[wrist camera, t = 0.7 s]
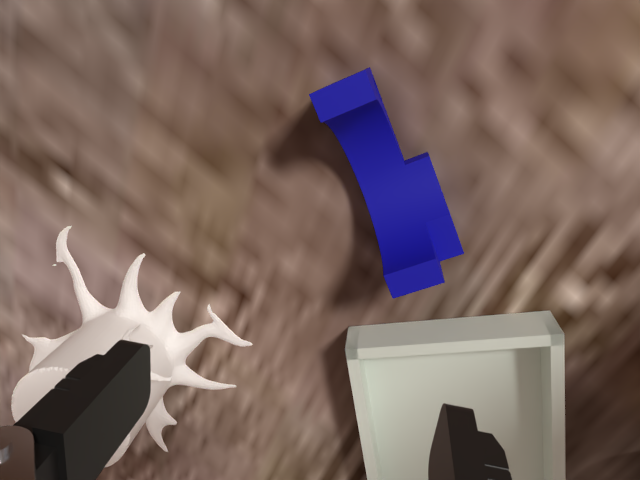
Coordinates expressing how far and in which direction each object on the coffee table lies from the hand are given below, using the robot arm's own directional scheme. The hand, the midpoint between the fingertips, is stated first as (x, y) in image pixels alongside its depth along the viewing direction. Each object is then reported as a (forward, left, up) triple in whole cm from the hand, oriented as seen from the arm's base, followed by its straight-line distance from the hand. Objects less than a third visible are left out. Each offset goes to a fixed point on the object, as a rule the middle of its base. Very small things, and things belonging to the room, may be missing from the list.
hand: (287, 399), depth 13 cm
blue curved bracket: (-3, -2, -21) cm, 21 cm away
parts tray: (-5, +19, -20) cm, 29 cm away
